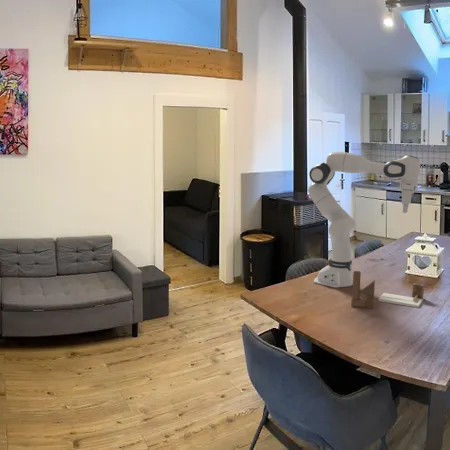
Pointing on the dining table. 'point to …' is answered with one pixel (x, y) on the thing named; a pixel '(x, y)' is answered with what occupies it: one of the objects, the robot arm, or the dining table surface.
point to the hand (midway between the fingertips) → (404, 212)
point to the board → (400, 300)
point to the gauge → (417, 291)
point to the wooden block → (367, 290)
